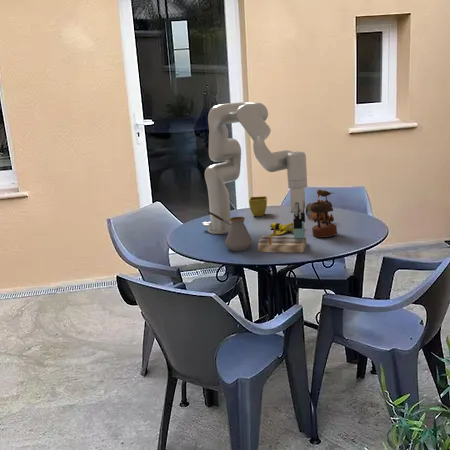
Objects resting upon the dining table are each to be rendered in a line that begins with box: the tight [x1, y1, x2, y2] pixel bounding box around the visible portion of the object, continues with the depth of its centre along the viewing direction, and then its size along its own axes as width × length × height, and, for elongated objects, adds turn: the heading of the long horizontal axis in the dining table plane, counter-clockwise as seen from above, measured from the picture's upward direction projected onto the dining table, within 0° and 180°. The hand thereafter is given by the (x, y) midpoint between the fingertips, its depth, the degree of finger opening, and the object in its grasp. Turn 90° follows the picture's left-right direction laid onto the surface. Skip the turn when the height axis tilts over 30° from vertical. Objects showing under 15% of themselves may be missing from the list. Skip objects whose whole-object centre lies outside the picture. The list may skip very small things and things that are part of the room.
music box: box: [310, 189, 338, 238], centre depth 227 cm, size 15×11×20 cm
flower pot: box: [248, 195, 268, 217], centre depth 272 cm, size 9×9×9 cm
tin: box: [305, 202, 329, 224], centre depth 253 cm, size 15×3×8 cm, turn 27°
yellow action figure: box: [268, 222, 294, 236], centre depth 240 cm, size 19×4×15 cm
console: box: [257, 229, 307, 253], centre depth 216 cm, size 18×12×6 cm, turn 75°
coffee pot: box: [206, 210, 253, 252], centre depth 221 cm, size 21×12×15 cm, turn 55°
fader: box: [292, 222, 306, 240], centre depth 213 cm, size 4×3×7 cm
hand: (299, 225), depth 212 cm, fingers open, 9 cm apart
